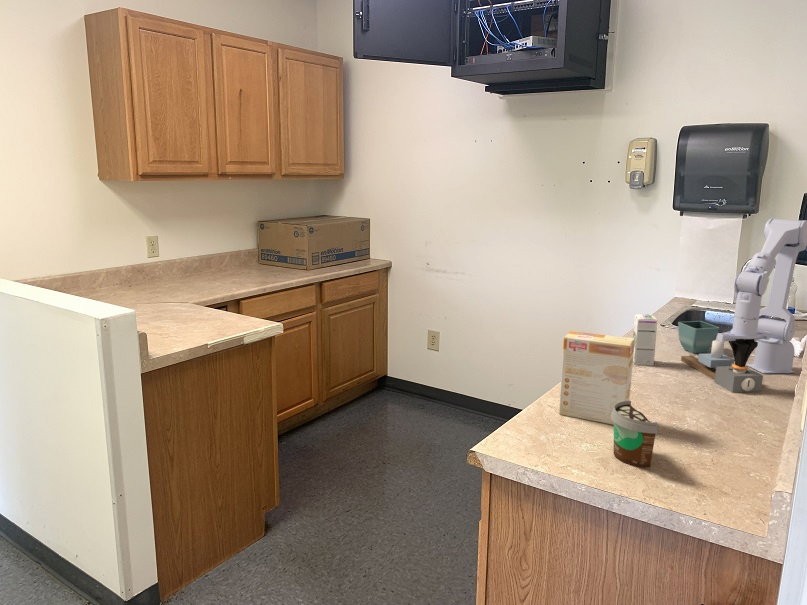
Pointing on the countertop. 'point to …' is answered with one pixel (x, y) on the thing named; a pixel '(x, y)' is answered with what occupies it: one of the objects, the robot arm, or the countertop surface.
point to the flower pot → (697, 336)
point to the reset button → (739, 369)
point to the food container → (633, 435)
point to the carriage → (716, 356)
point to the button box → (738, 379)
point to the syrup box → (644, 339)
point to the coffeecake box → (595, 375)
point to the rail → (698, 365)
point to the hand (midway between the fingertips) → (739, 365)
